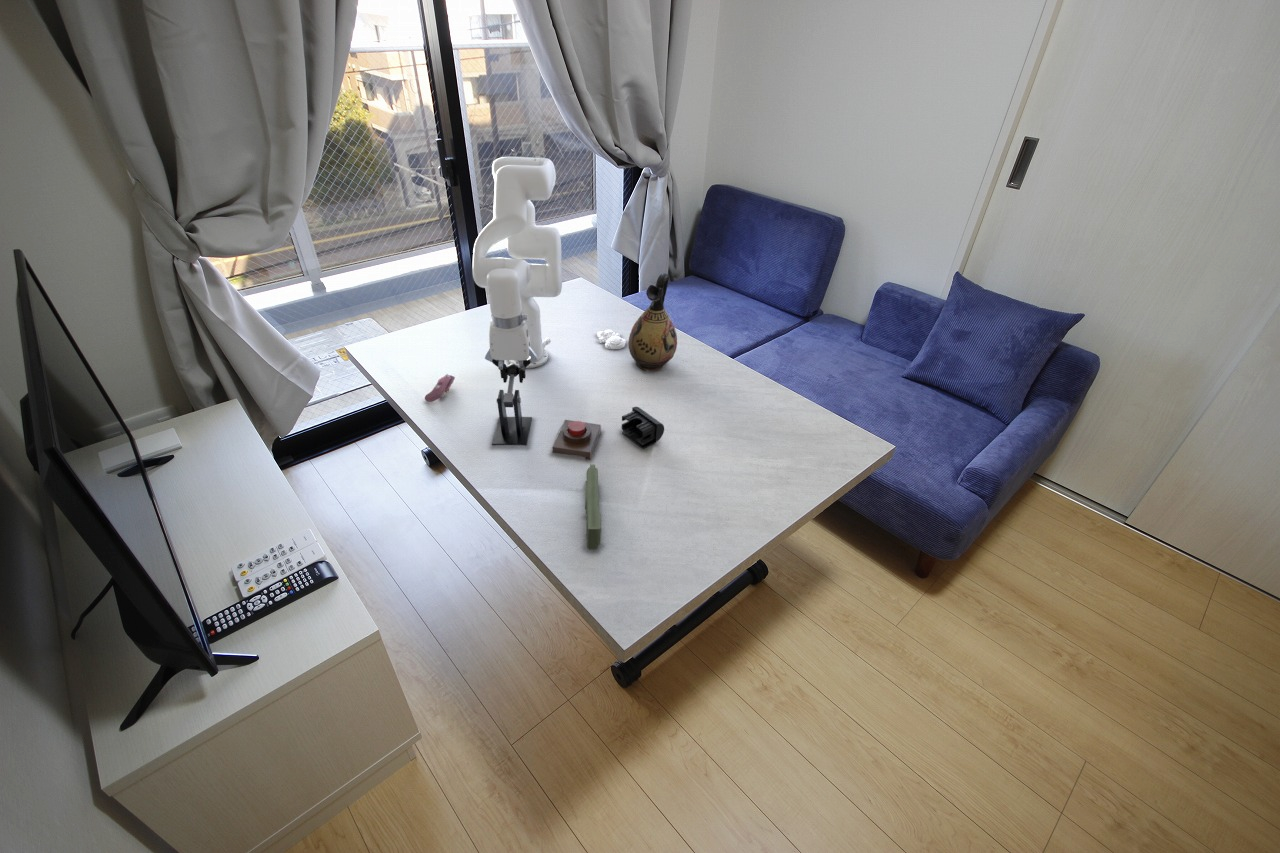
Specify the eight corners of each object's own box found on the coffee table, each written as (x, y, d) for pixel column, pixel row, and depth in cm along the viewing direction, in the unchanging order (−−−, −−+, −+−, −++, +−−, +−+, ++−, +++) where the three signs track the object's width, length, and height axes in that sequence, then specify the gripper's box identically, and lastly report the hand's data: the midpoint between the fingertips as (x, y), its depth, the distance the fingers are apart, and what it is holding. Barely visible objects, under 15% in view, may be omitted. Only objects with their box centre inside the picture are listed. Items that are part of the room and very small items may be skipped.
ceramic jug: (666, 381, 177) (674, 291, 158) (620, 370, 181) (622, 282, 162) (682, 356, 190) (691, 270, 171) (639, 346, 193) (643, 261, 175)
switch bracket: (499, 420, 158) (494, 381, 150) (532, 420, 158) (528, 381, 150) (492, 447, 148) (486, 407, 140) (526, 447, 149) (522, 408, 141)
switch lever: (507, 369, 154) (505, 360, 151) (521, 369, 155) (519, 361, 152) (502, 408, 147) (500, 400, 144) (516, 408, 147) (514, 400, 144)
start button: (571, 425, 150) (570, 419, 149) (587, 427, 150) (587, 422, 149) (566, 435, 147) (566, 429, 146) (583, 437, 147) (582, 432, 146)
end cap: (663, 440, 154) (665, 420, 150) (644, 450, 150) (645, 430, 146) (639, 422, 159) (640, 403, 155) (620, 432, 156) (620, 412, 152)
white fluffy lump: (615, 331, 201) (615, 323, 199) (629, 347, 193) (630, 339, 191) (592, 335, 198) (592, 328, 196) (606, 352, 190) (606, 344, 188)
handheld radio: (584, 549, 123) (584, 471, 142) (600, 549, 123) (598, 471, 143) (585, 528, 119) (585, 451, 138) (601, 528, 119) (599, 451, 139)
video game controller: (437, 408, 163) (443, 392, 159) (422, 400, 162) (428, 384, 158) (452, 390, 171) (459, 374, 166) (439, 382, 170) (445, 366, 166)
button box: (565, 427, 156) (564, 414, 154) (600, 432, 155) (600, 419, 152) (552, 454, 147) (551, 441, 144) (590, 460, 146) (590, 447, 143)
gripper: (541, 312, 146) (545, 373, 157) (476, 311, 145) (485, 372, 156) (538, 326, 140) (543, 388, 151) (470, 325, 139) (480, 387, 150)
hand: (513, 379), depth 154 cm, fingers closed on switch lever, 3 cm apart
